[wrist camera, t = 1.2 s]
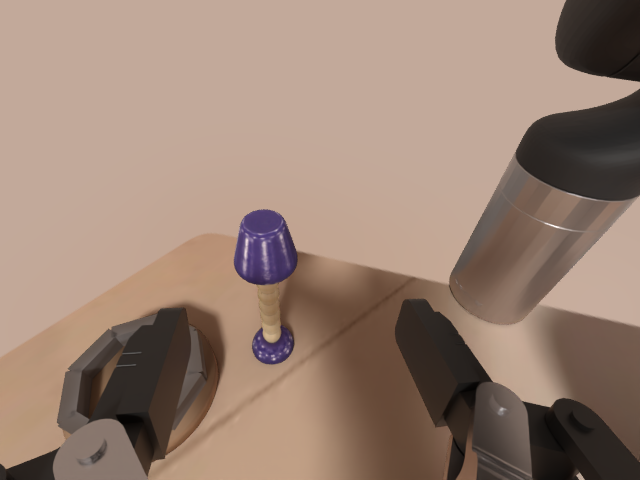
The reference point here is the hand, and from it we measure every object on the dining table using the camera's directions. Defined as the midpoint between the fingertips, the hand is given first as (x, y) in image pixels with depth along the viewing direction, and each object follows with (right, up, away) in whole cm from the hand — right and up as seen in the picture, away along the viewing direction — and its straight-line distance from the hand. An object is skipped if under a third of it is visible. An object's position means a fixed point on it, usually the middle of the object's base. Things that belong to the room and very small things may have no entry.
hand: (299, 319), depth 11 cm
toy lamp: (-4, -8, +20) cm, 22 cm away
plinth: (-15, -11, +17) cm, 25 cm away
